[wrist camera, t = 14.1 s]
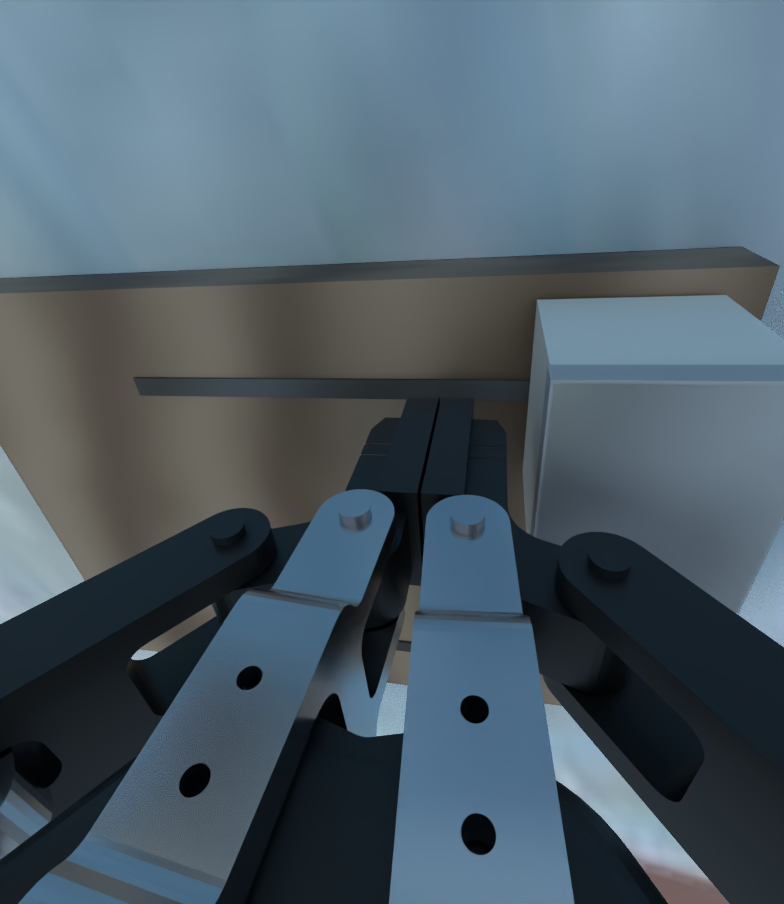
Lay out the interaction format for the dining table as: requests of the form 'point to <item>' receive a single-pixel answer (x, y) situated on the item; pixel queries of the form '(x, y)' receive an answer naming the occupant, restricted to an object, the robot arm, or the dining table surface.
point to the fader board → (280, 381)
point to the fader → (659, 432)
